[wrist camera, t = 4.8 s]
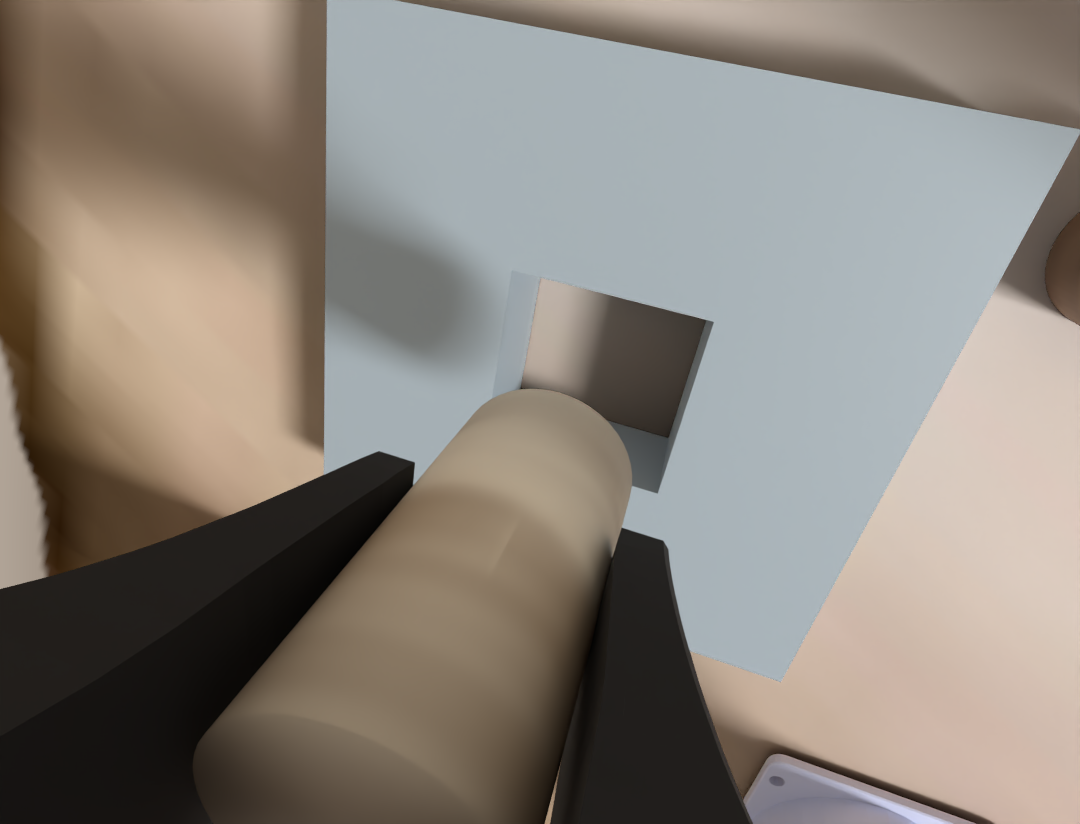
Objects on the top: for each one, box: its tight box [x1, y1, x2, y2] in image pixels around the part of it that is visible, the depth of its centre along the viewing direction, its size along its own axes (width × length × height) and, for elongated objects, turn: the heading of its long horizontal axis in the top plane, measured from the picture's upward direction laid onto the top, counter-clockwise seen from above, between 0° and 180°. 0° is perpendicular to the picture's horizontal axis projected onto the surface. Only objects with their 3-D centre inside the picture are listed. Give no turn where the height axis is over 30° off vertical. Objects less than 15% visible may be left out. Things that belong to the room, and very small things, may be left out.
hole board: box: [324, 0, 1080, 682], centre depth 16 cm, size 14×14×3 cm
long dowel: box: [193, 389, 632, 824], centre depth 8 cm, size 3×3×6 cm
